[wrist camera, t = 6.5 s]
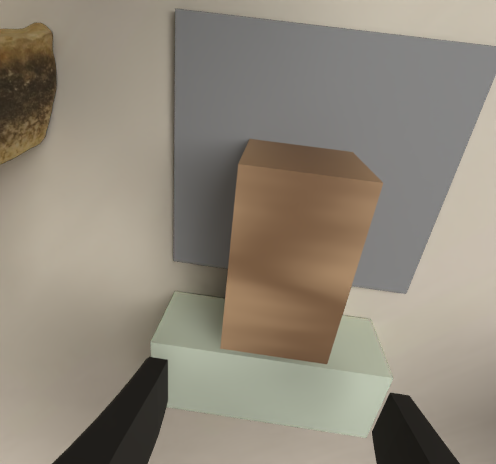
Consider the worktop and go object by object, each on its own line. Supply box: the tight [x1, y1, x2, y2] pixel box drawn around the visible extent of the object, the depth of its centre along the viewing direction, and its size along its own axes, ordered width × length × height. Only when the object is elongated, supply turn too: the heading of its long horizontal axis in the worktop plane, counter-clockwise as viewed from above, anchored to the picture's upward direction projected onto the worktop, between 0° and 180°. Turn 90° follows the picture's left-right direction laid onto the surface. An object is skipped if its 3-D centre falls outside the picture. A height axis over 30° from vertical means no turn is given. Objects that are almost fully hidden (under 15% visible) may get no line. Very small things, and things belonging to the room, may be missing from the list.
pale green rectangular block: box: [150, 291, 393, 438], centre depth 16 cm, size 10×4×4 cm, turn 83°
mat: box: [174, 9, 496, 294], centre depth 13 cm, size 11×10×1 cm
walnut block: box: [220, 139, 383, 364], centre depth 12 cm, size 4×4×7 cm
